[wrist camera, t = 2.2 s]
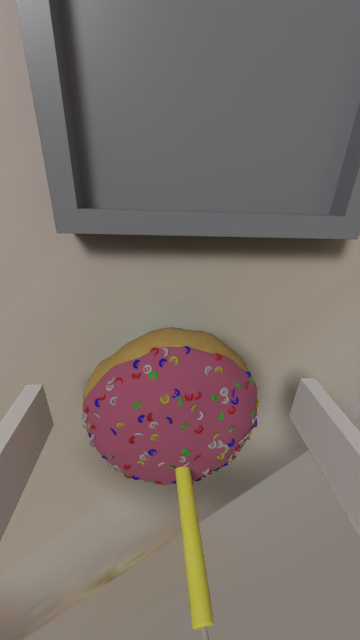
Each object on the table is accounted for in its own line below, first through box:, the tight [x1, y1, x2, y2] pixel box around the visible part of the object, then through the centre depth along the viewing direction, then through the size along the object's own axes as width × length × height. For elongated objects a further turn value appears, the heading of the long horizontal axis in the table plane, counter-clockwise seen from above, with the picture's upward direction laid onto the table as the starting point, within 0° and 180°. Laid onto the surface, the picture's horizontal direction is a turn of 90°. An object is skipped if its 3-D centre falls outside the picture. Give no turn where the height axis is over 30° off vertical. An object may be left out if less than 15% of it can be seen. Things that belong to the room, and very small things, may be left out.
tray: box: [16, 0, 360, 239], centre depth 9 cm, size 14×14×2 cm
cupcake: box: [82, 328, 259, 640], centre depth 11 cm, size 9×8×12 cm
